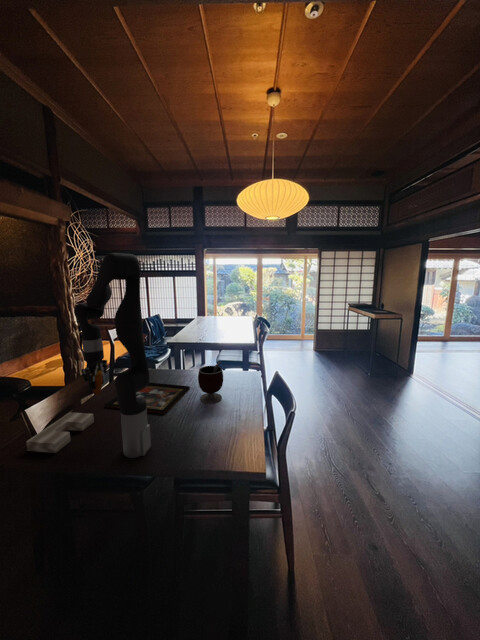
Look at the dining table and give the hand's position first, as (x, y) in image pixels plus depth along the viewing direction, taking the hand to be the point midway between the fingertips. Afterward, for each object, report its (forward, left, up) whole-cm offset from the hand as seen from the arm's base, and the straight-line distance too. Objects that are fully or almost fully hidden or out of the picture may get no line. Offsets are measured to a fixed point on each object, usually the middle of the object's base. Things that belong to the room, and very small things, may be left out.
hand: (97, 386), depth 112 cm
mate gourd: (-44, -34, -20) cm, 59 cm away
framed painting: (-9, -31, -20) cm, 38 cm away
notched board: (+12, +7, -20) cm, 24 cm away
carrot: (0, 0, -4) cm, 4 cm away
